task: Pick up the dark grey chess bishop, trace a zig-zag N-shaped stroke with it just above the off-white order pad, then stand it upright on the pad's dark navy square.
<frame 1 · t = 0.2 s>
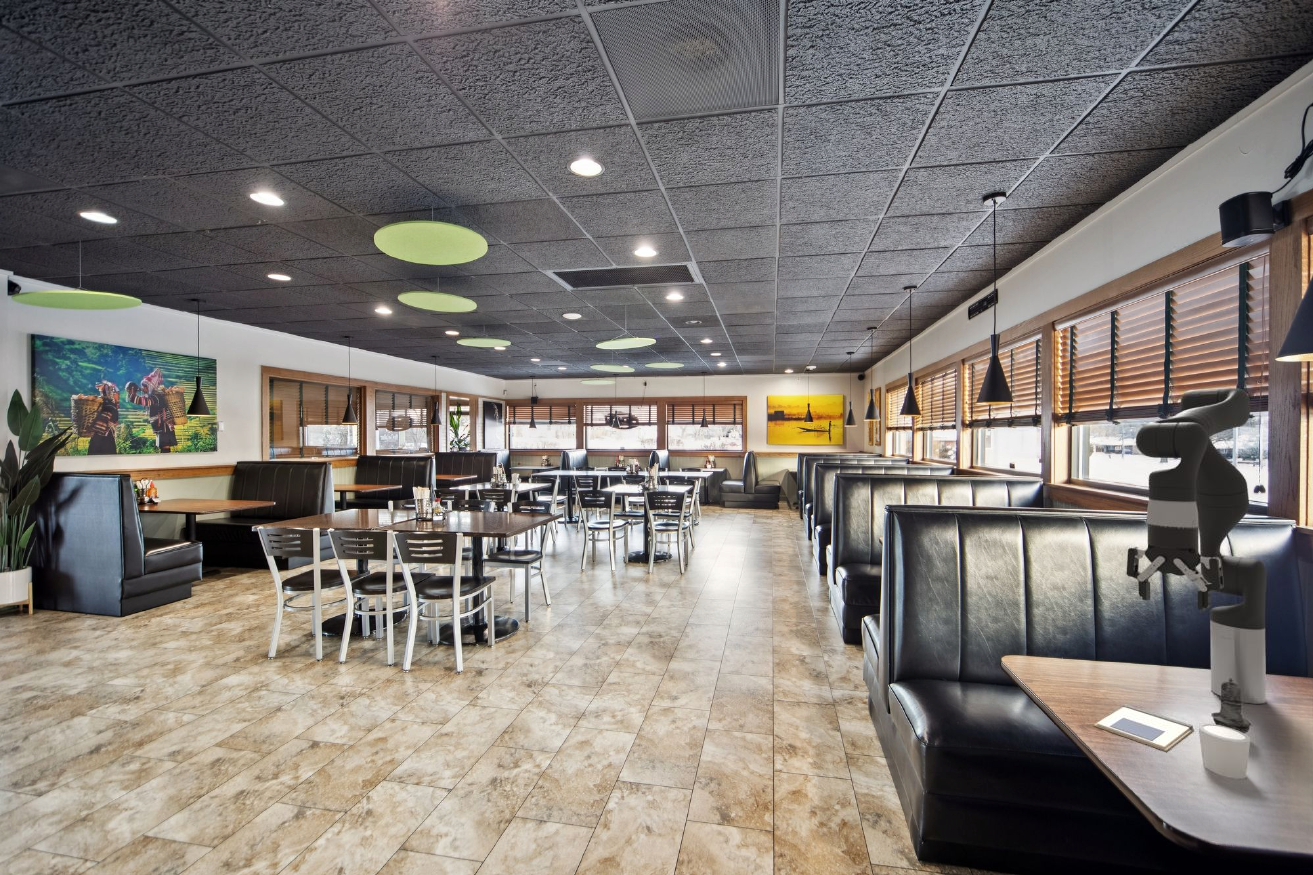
hand: (1173, 604, 113), 28 cm above the table, tool pointing down, fingers open, 8 cm apart
dark grey chess bishop: (1231, 737, 118), on the table
shot glass: (1224, 771, 105), on the table
order pad: (1143, 728, 121), on the table
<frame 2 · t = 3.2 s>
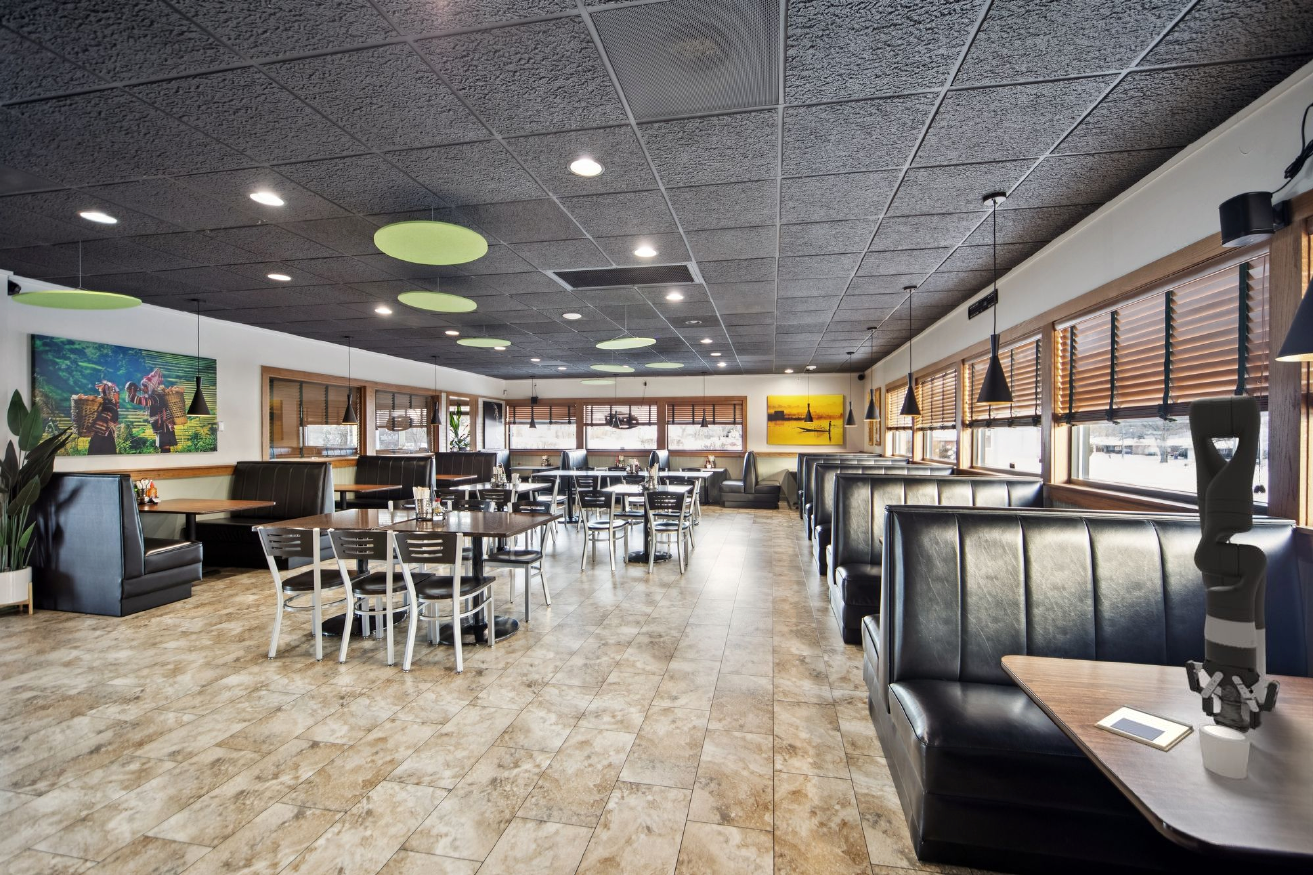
hand: (1230, 721, 118), 3 cm above the table, tool pointing down, fingers closed on dark grey chess bishop, 6 cm apart
dark grey chess bishop: (1231, 737, 118), on the table, touching gripper
everything else where it was.
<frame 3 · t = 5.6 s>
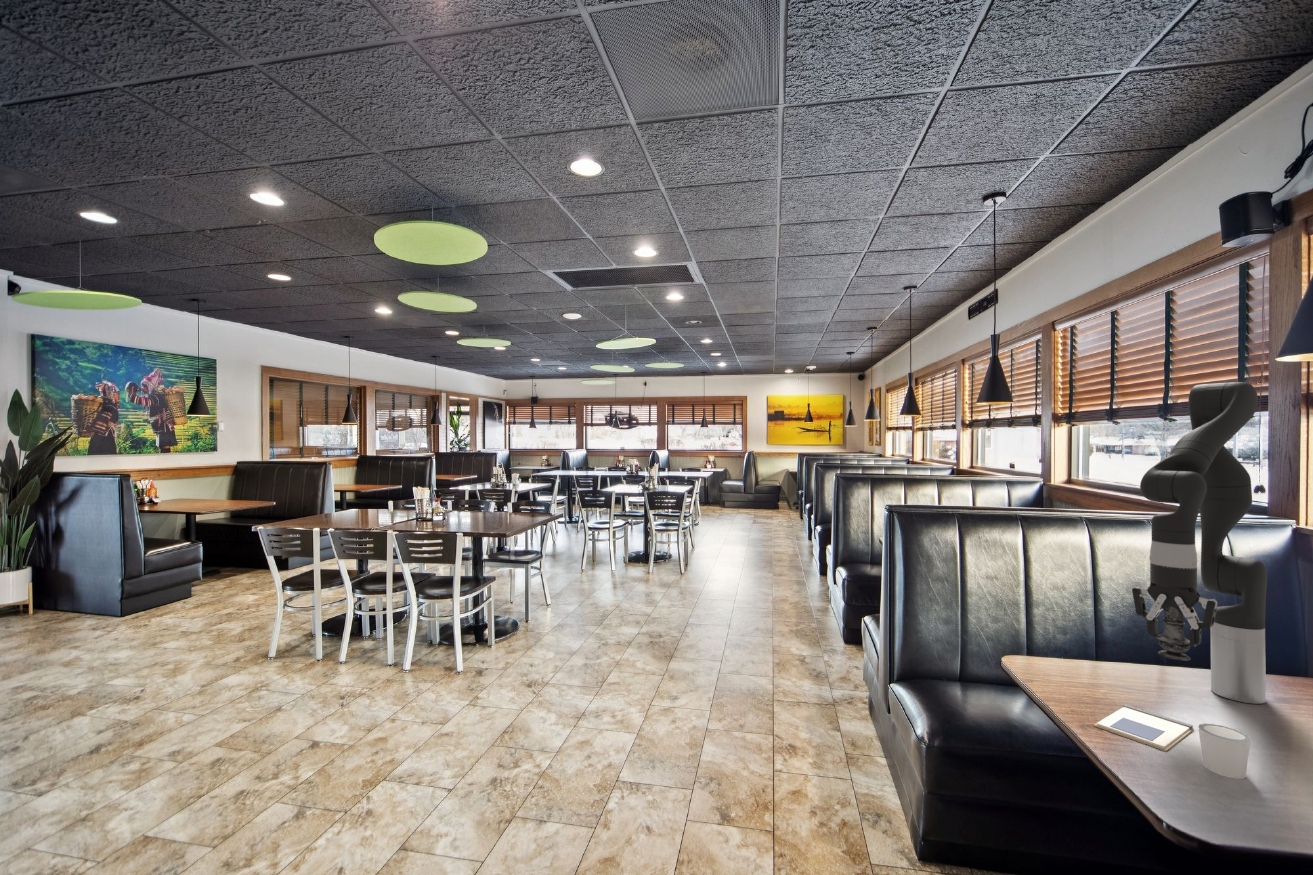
hand: (1173, 641, 123), 18 cm above the table, tool pointing down, fingers closed on dark grey chess bishop, 6 cm apart
dark grey chess bishop: (1174, 656, 123), point 14 cm above the table, touching gripper
everything else where it was.
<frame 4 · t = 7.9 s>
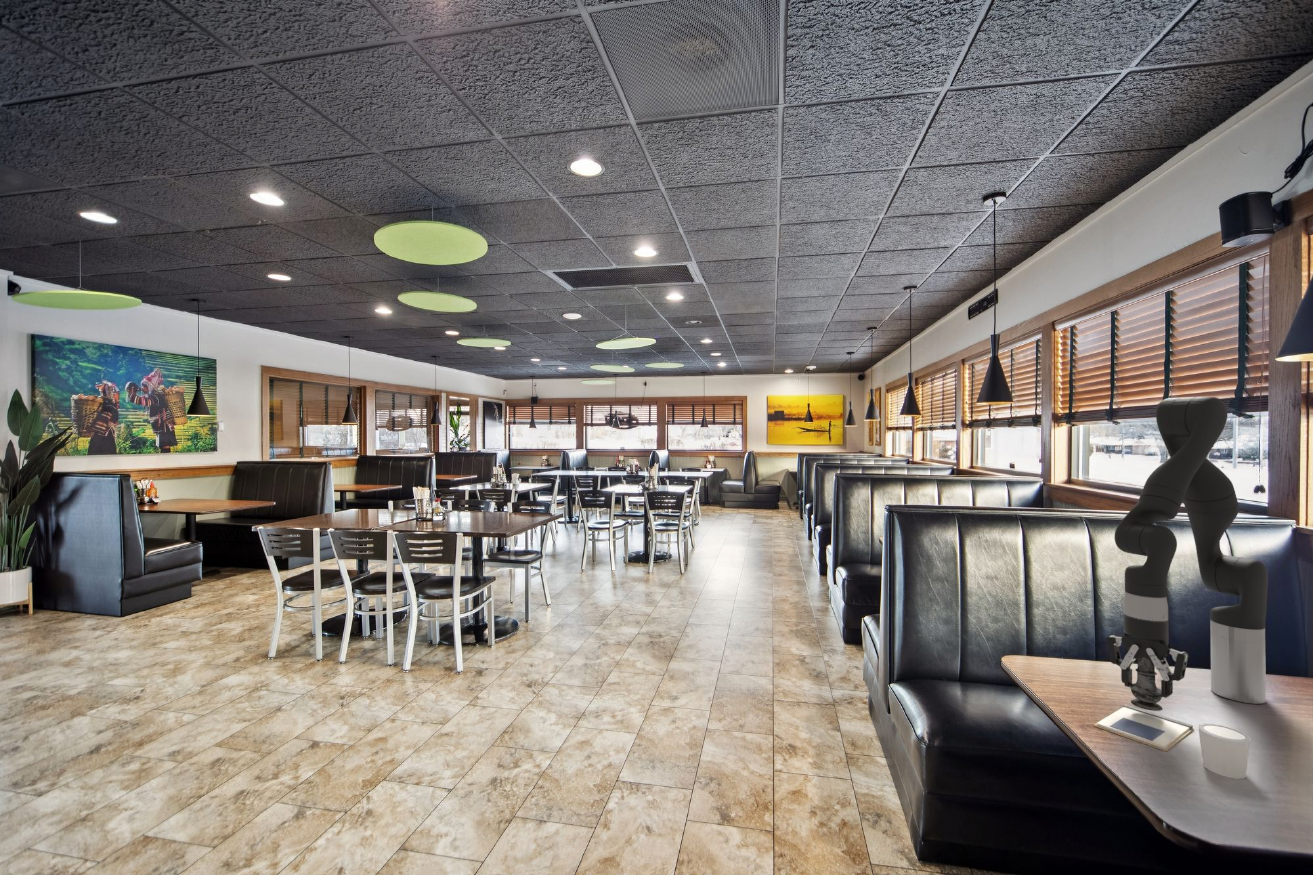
hand: (1146, 690, 126), 6 cm above the table, tool pointing down, fingers closed on dark grey chess bishop, 6 cm apart
dark grey chess bishop: (1146, 706, 126), point 3 cm above the table, touching gripper
everything else where it was.
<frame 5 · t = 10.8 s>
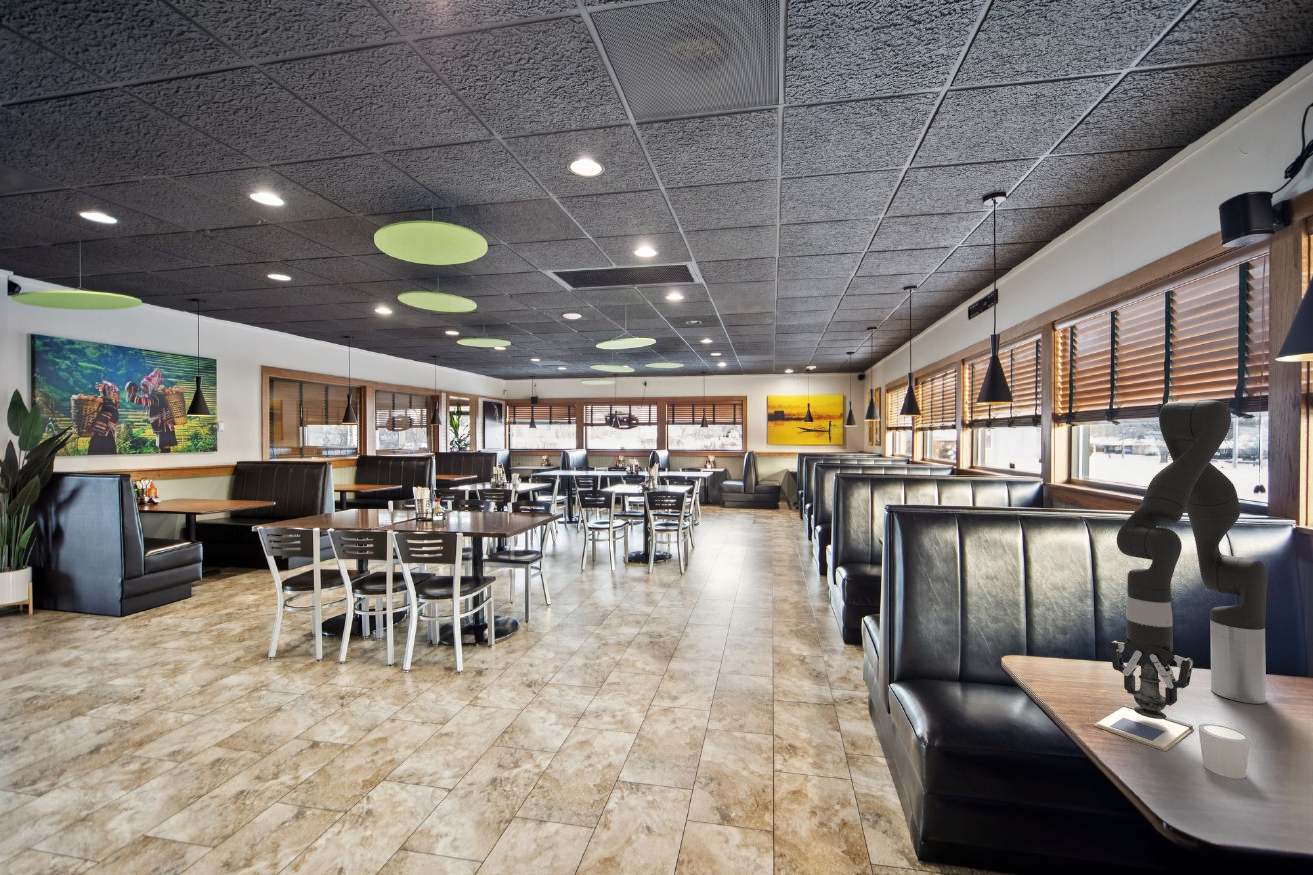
hand: (1149, 698, 122), 6 cm above the table, tool pointing down, fingers closed on dark grey chess bishop, 6 cm apart
dark grey chess bishop: (1149, 714, 122), point 3 cm above the table, touching gripper
everything else where it was.
when the fingers open (5 cm above the table, at t = 13.0 s): dark grey chess bishop drops 1 cm, resting on order pad.
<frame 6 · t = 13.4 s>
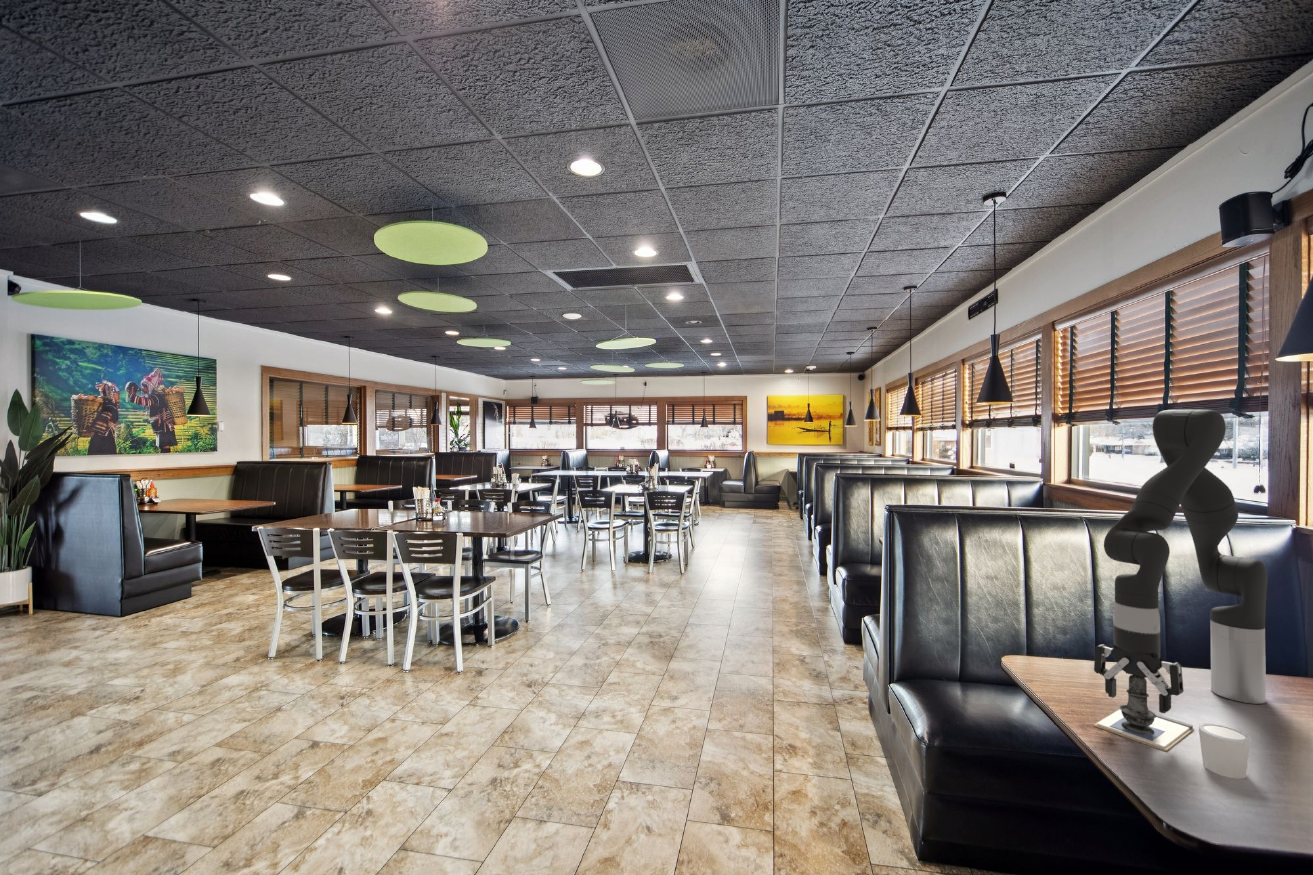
hand: (1136, 703, 119), 6 cm above the table, tool pointing down, fingers open, 8 cm apart
dark grey chess bishop: (1137, 729, 119), point 1 cm above the table, touching order pad
everything else where it was.
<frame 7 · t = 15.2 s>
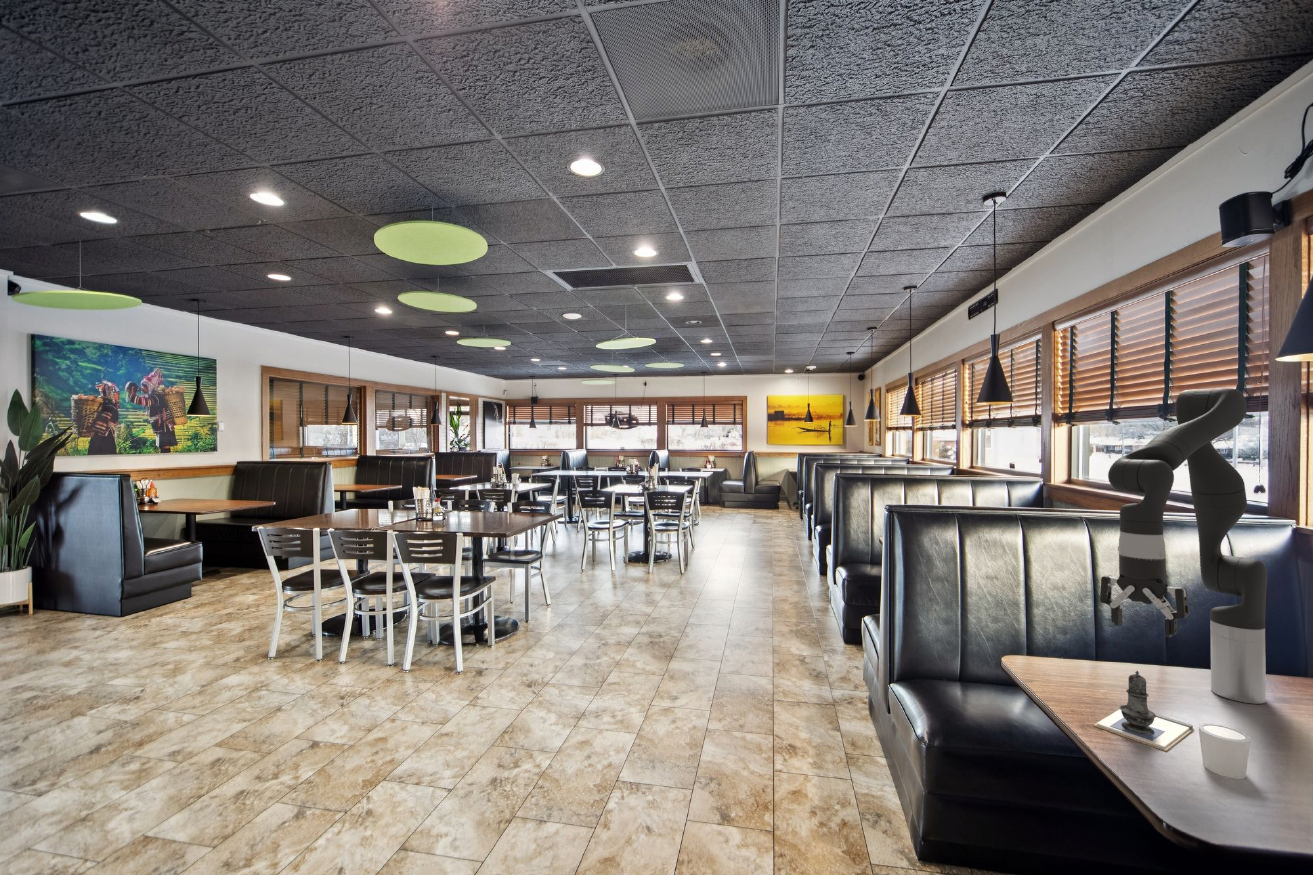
hand: (1142, 630, 121), 21 cm above the table, tool pointing down, fingers open, 8 cm apart
nothing on the table moved.
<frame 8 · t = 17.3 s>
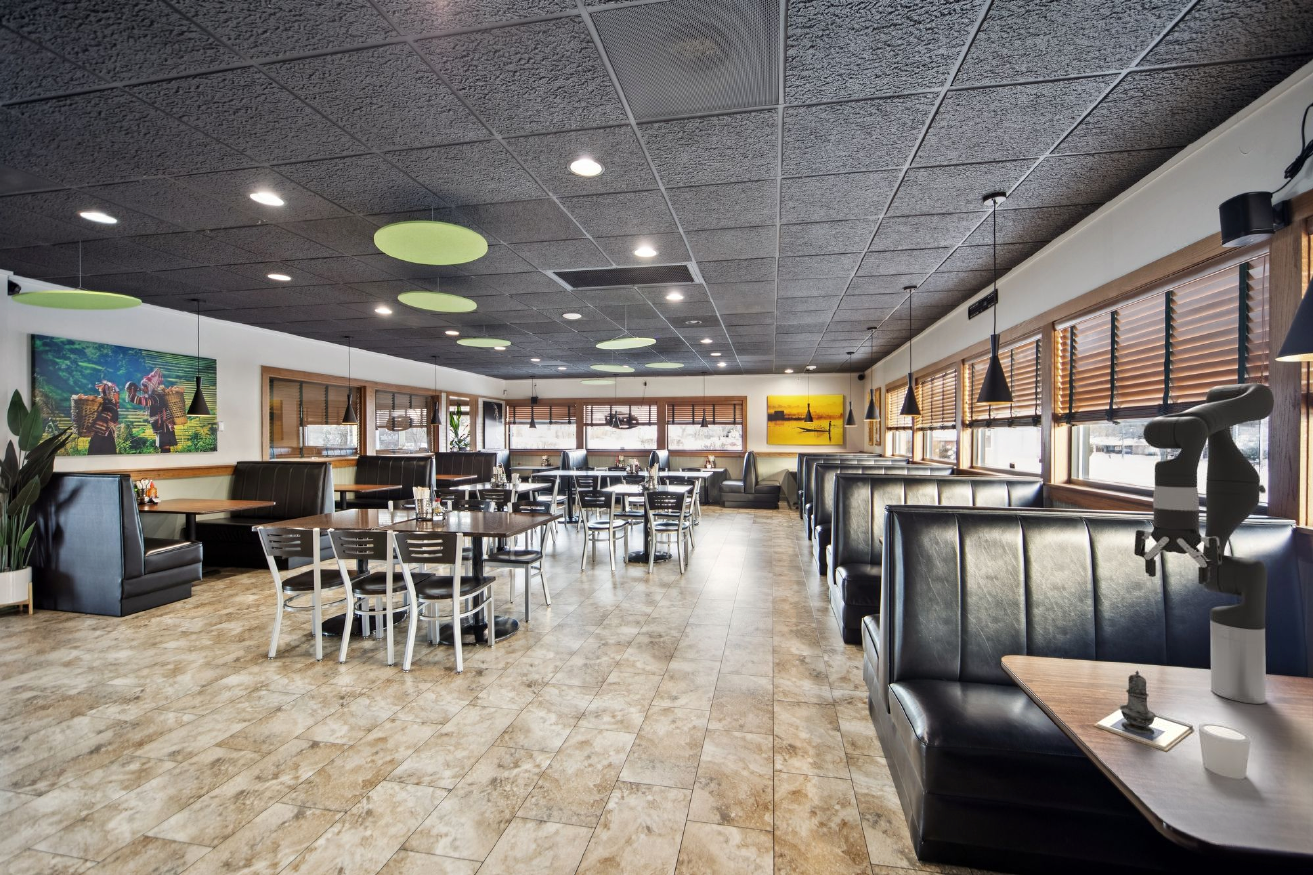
hand: (1176, 580, 127), 30 cm above the table, tool pointing down, fingers open, 8 cm apart
nothing on the table moved.
at the end: dark grey chess bishop inside the target area on the order pad (0.1 cm from its centre), point 0.6 cm above the order pad's base; dark grey chess bishop tilted 0°; the gripper is holding nothing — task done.
